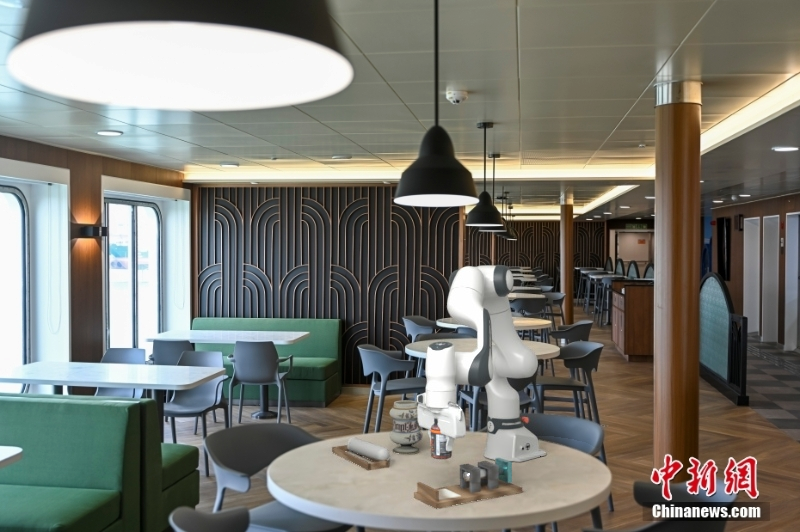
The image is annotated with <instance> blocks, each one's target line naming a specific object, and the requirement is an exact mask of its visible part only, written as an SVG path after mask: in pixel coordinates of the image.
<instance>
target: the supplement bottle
mask: <svg viewBox="0 0 800 532" xmlns="http://www.w3.org/2000/svg"><path fill="white" fill-rule="evenodd" d="M437 423H438V419H437V418H434V424H433V425H432V426H431V443H430V457H431V458H433V459H434V460H435V459H436V460H447V459H450V458H451V457H452V452H453V450H452V451H446V450H445V449H444V448H445V447H444V444H446V442H447V439H446V435H444V434H441V432H440V428H439V427H438V424H437Z"/></svg>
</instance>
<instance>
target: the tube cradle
mask: <svg viewBox="0 0 800 532" xmlns="http://www.w3.org/2000/svg"><path fill="white" fill-rule="evenodd" d="M345 451H347V452H345ZM332 452H333V453H332ZM349 452H350V451H349V450H348V449H347V444H346V445H345V444H344V445H338V446H337V445H336V446H331V453H332V454H334V453H335V454H334V455H336V454H337V455H336V456H338V455H339V456H338V457H340V456H341V457H340V458H342V457H343V459H344V458H345V459H344V460H346V459H347V460H346V461H348V460H349V461H348V462H350V461H351V462H350V463H352V462H353V463H352V464H354V463H355V464H354V465H356V464H357V465H356V466H358V465H359V466H358V467H360V466H361V467H360V468H362V469H364V470H366V471H372V470H378V469H379V470H380V469H385V468H386V469H387V468H389V467H390V460H389V459H388V460H385V461H378V460H375V459H372V458H369V457H367V456H364V455H362V456H364V457H366V458H365V459H367V458H368V459H367V460H369V459H370V460H369V461H371V460H372V461H371V462H368V461H366V460H364V459H361V457H362V456H361V457H360V458H359V457H358V456H356V455H353V454H351V453H349ZM354 454H356V452H355V453H354ZM360 455H361V454H360ZM360 455H359V456H360ZM364 457H363V458H364Z"/></svg>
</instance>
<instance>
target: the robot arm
mask: <svg viewBox="0 0 800 532" xmlns="http://www.w3.org/2000/svg"><path fill="white" fill-rule="evenodd" d="M513 288H514V276H513V272H512V271H511V269H510V268H509V267H508V266H507V265H501V264H496V265H478V266H473V265H472V266H471V265H470V266H469V265H467V266H464V267H461V268H458V269H456V270H454V271H453V272H451V274H450V276H449V279H448V289H449V292H448V296H447V301H446V302H447V303H446V304H447V305H446V308H447V312H448V314H449V316H450V317H451V318H452V319H453V320H454V321H455V322H457V323H459V324H460V325H462V326H465V327H468V328H470V329H472V330H474V331H476V332H477V333H476V334H477V335H476V337H477V338H476V339H477V342H476V343H477V344H476V345H477V346H475V348H474V349H472V351H456V349H455V346H454V344H453V343H452V342H449V341H436V342H431V344H429V345H428V346H427V350H426V355H425V369H424V370H425V371H424V373H425V377H426V384H425V392H423V393H421V394H418V395H417V396H416V402H417V405H418V407H417V417H418V423H419V428H424V429H427V433H428V436H429V437H428V438H429V439H430V441H429V442H430V444H431V426H432V425H433V424H434V418H437V419H438V423H437V424H438V427H439V428H440V432H441V434H444V435H446V439H447V442H446V444H444V447H445V448H444V449H445V450H446V451H452V452H453V445H454V443H455V440H456V439H463V438H465V436H466V434H467V427H466V418H465V417H466V416H465V412H464V411H463V409H462V407H461V405H460V404H459V403H457V385H461V386H462V385H463V386H472V387H478V388H483V387H484V388H485V391H486V396H487V415H486V430H487V433H486V434H487V435H486V441H485V442H486V443H485V448H484V452H483V457H485V459H488V460H489V459H490V460H495V458H502V459H505V460H508V461H510V462H518V463H519V462H520V463H521V462H525V461H529V460H533V459H536V458H540V456H541V457H543V456H547V453H546V451H545V450H544V449H541V448H540V442H539V439H538V436H536V435H535V434H534V433H533V432H532V431H530V430H529V429H528V428H526V427H525V425H524V423H525V424H528V423H529V422H530V420H529V417H528V416H527V417H526V416H521V415H520V395H519V392H518V391H517V390H516V389H515V388H513V387H512V386H511V385H510V383H509V381H508V378H510V379H526V378H531V377H533V376H534V374H535V373H536V372H537V369H538V365H539V363H538V362H539V361H538V357H537V354H536V353H535V351H534V350H532V349H531V348H529V347H528V346H527V345H526V344H525V343H524V341H523V340H522V339H521V338H520V336H519V334H518V332H517V330H516V327H515V325H514V320H513V315H512V309H511V306H510V305H511V304H510V300H509V297H508V295H509V294H511V292H512V291H513Z"/></svg>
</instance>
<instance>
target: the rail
mask: <svg viewBox="0 0 800 532" xmlns="http://www.w3.org/2000/svg"><path fill="white" fill-rule="evenodd" d="M484 468H486V469H488V478H484V479H480V469H484ZM466 471H468V472H470V481H467V482H466V481H465V480H464V478H463V473H464V472H466ZM416 487H417V488H416V489H417V490H416V491H415V492H413V498H415V499H416V500H417V501H420V502H422V503H424V504H425V505H428V506H429V505H430V506H429V507H431V506H432V508H433V507H434V508H433V509H435V508H436V509H435V510H438V509H437V508H439V509H443V508H442V507H445V508H447V507H446V506H450V507H453V506H452V505H455V506H457V505H456V504H460V505H462V504H461V503H465V504H467V503H466V502H471V501H476V502H478V501H477V500H481V499H486V500H488V499H487V498H491V499H494V498H493V497H497V498H500V497H499V496H502V497H505V496H504V495H507V496H511V494H512V495H517V494H521V493H523V487H522V486H520V485H517V484H515V483H513V482H511V483H506V482H504V481H501V480H499V479H498V465H496V464H495V463H492V462H490V461H487V460H482V461H477V466H475V465H472V464H470V463H464V464H459V484H455V485H448V486H443V487H436V488H434V487H433V486H432V487H431V486H429V485H428V484H425V483H423V482H421V481H420V482H419V481H418V482H416ZM516 493H517V494H516ZM481 501H482V500H481ZM471 503H472V502H471Z"/></svg>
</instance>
